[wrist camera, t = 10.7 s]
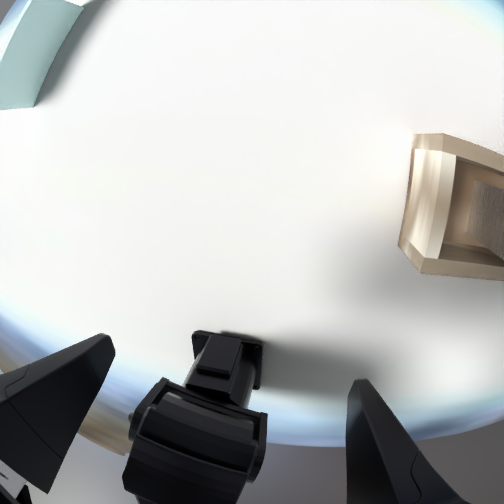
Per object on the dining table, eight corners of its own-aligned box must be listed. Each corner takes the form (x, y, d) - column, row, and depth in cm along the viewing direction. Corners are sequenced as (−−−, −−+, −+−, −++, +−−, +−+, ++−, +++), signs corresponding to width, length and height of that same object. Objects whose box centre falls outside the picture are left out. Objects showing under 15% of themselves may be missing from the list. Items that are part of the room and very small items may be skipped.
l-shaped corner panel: (88, 9, 14) (37, -8, 7) (37, 107, 19) (-16, 112, 12) (45, 1, 13) (5, -8, 6) (6, 80, 18) (-35, 82, 11)
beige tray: (521, 262, 15) (547, 284, 11) (397, 245, 18) (419, 273, 13) (538, 180, 12) (569, 191, 8) (412, 134, 14) (443, 133, 10)
